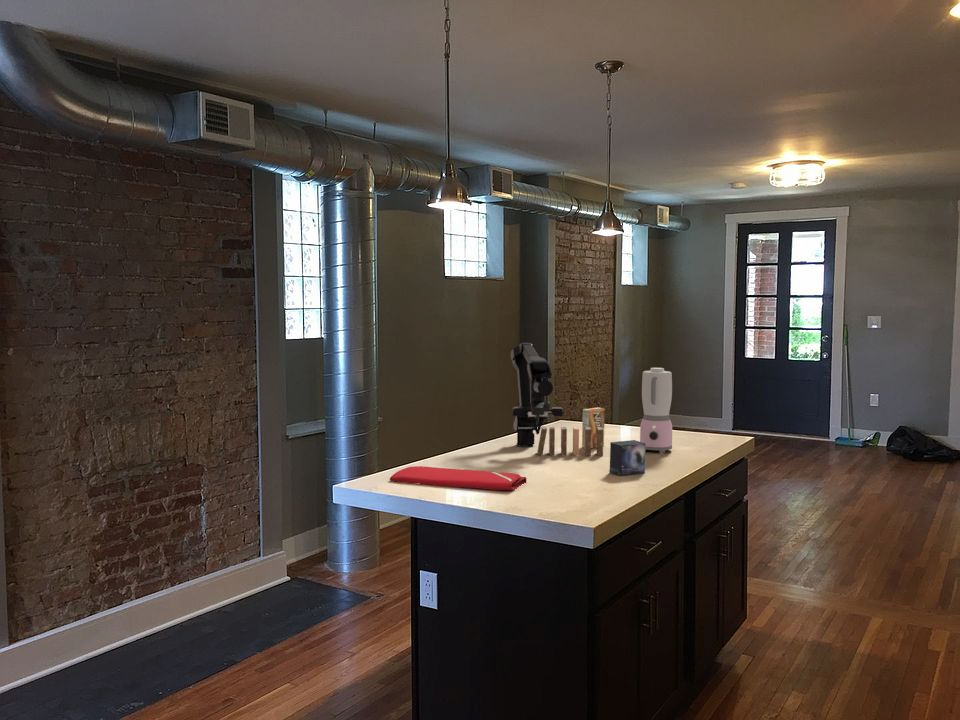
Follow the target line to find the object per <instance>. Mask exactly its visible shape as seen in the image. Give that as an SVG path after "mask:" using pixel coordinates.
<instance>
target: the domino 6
mask: <svg viewBox="0 0 960 720" xmlns="http://www.w3.org/2000/svg"><path fill="white" fill-rule="evenodd" d="M596 456H597V457H603V456H604V446H603V428H602V427H597V447H596Z"/></svg>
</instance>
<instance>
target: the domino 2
mask: <svg viewBox="0 0 960 720" xmlns="http://www.w3.org/2000/svg"><path fill="white" fill-rule="evenodd" d="M555 429H556V428H555V426H549V429H548V430H549V431H548V433H549V434H548V435H549V436H548V437H549V439H548V455H549V454H550V455H556V454H555V451H556V449H555V444H556V443H555V442H556V439H555V438H556V436H555V435H556V434H555V433H556V430H555ZM550 455H549V456H550Z"/></svg>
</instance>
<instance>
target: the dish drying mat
mask: <svg viewBox="0 0 960 720" xmlns="http://www.w3.org/2000/svg"><path fill="white" fill-rule="evenodd" d="M389 481H390V482H391V481H398V482H397V483H401V482H408V483H407V484H412V483H420V484H419V485H423V484H427V485H426V486H434V485H437V486H436V487H446V486H448V487H449V486H450V487H449V488H463V487H464V489H467V488H468V489H481V490H491V491H492V490H493V491H494V490H495V491H516V490H518V489H519V488H520V487H519V486H521V485H522V484H524V483H525V484H527V477H526V476H521V475H520V474H518V473H513V472H511V473H510V472H500V471H499V472H498V471H486V470H474V469H473V470H472V469H460V468H447V467H446V468H445V467H431V466H419V465H418V466H408V467H404V468H403V469H399V470H398V471H396V472H395V473H393V474H392V475H391V476H390V478H389ZM525 484H524V485H525ZM522 486H523V485H522ZM518 487H519V488H518ZM517 488H518V489H517ZM515 489H516V490H515Z"/></svg>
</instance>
